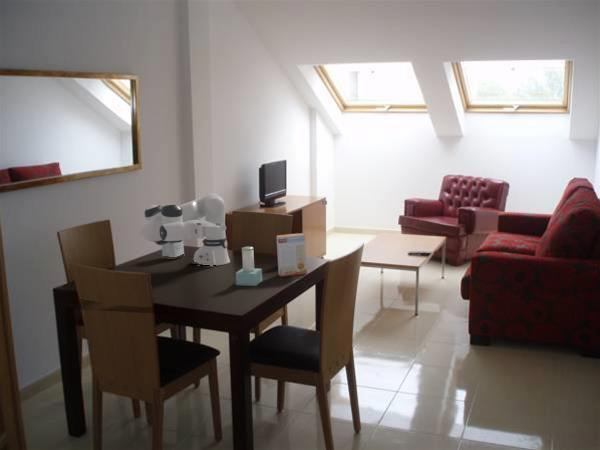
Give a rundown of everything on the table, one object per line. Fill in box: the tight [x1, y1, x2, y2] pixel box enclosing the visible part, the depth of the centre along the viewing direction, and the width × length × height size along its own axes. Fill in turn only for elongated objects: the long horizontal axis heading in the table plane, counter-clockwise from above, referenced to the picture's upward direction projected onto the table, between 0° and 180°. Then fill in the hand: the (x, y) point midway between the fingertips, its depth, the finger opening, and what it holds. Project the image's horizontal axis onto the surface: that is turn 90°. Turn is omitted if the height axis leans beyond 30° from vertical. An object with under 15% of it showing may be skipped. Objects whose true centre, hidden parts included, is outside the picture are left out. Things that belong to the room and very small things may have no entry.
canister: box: [241, 246, 255, 272], centre depth 328 cm, size 6×6×12 cm
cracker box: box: [276, 232, 308, 278], centre depth 341 cm, size 14×6×21 cm, turn 102°
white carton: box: [161, 240, 185, 257], centre depth 390 cm, size 10×9×17 cm
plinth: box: [235, 267, 264, 287], centre depth 330 cm, size 11×11×6 cm
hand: (222, 225), depth 320 cm, fingers open, 8 cm apart
